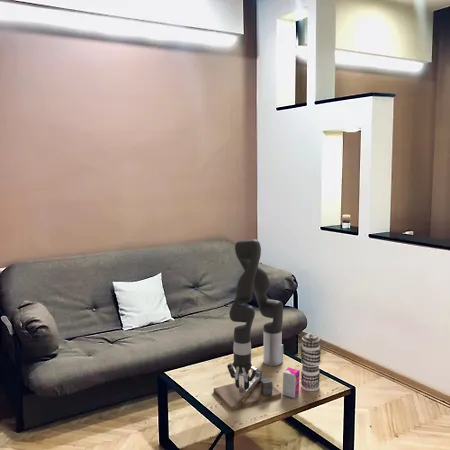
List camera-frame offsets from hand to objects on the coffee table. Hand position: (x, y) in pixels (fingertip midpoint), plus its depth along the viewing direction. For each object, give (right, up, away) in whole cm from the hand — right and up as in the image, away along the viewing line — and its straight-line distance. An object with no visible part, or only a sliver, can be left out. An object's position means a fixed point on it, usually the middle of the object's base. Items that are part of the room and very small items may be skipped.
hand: (242, 387), depth 215 cm
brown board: (+2, -6, +9) cm, 11 cm away
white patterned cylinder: (+32, -5, +16) cm, 36 cm away
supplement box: (+22, -6, +9) cm, 25 cm away
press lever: (+4, -4, +9) cm, 11 cm away
